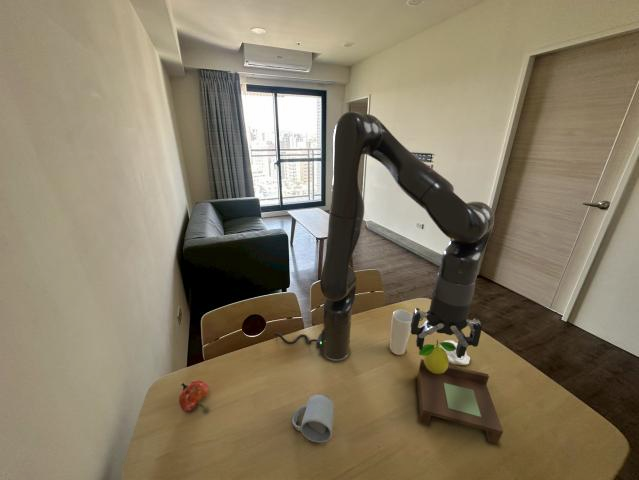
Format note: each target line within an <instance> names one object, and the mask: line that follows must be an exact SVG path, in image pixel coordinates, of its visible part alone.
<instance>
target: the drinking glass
mask: <svg viewBox="0 0 639 480" xmlns="http://www.w3.org/2000/svg"><path fill="white" fill-rule="evenodd" d="M412 317H413V313H411V312H409V310H405V309H396V310H394V311H393V313H392V316H391V321H390V338H389V339H390V342H389V350H390V351H391V352H392V353H393V354H395V355H396V356H397V355H398V356H401V355H404V354H405V353H406V349H407V345H408V342H409V338H410V335H411V321H412Z"/></svg>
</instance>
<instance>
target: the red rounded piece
mask: <svg viewBox="0 0 639 480" xmlns="http://www.w3.org/2000/svg"><path fill="white" fill-rule="evenodd" d="M180 386H182V387H183V389H182V392H181V393H180V394H179V399H178V404H179V406H180V408H181V410H183V411H185V412H191V411H192V410H193V409H194V408H195V407H196V406H198V404H199V406H200V407H202V409H203V410H204V411H205V412H207V410H206V408H205V406H204V405H203V404H202V403H201V401H202V400H203V399H204V398H205V397H206V396H207V395H208V393H209V392H210V391H209V390H210V388H209V386H208V384H207V383H206V382H204V381H202V380H194V381H192V382H190V383H189V384H187V385H186V384H185V383H184V382H183V383H181V384H180Z"/></svg>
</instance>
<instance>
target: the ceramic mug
mask: <svg viewBox="0 0 639 480" xmlns="http://www.w3.org/2000/svg"><path fill="white" fill-rule="evenodd" d="M302 413H304V415H303V418H302V422H301V425H297V421H298V419H299V417H300V415H301V414H302ZM334 413H335V405H334V402H333V399H332V398H330V396H328V395H326V394H324V393H315V394H313V395H311V396H310V397H309V399H308V401H307V403H306V405H303V406H301V407H299V408H297V410H296V411H295V412H294V414H293V416H292V420H291V421H292V426H293V427H294V428H295V430H296V431H298V432H300V433H301V434H302V435H303V436H304V437H305V439H307V440H309V441H310V442H313V443H318V444H319V443H320V444H321V443H325V442H328V441H329V440H330V439H331V437H332V435H333V425H334V415H335V414H334Z"/></svg>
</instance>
